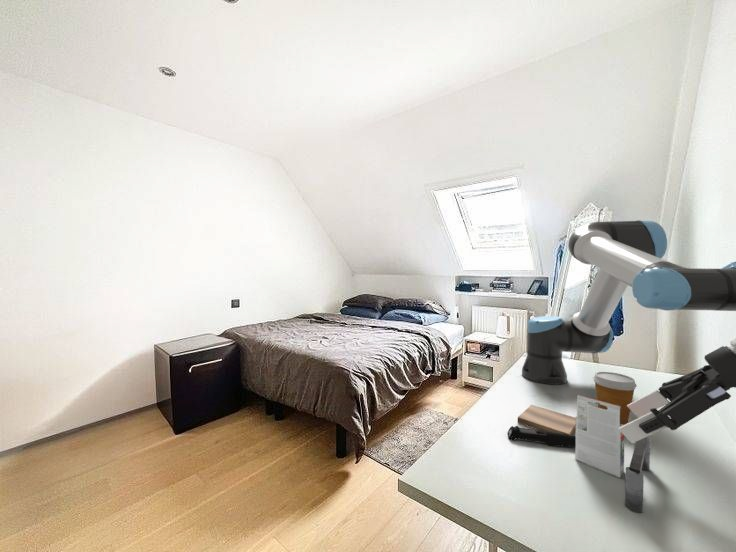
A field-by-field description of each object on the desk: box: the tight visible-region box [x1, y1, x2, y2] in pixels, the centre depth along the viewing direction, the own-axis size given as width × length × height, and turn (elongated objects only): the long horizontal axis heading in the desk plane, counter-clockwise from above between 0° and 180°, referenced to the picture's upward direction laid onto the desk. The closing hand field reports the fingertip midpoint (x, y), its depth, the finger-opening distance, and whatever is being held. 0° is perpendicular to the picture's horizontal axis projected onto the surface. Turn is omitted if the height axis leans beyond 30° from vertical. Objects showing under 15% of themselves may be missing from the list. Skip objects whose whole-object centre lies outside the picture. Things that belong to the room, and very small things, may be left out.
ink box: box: [574, 394, 626, 479], centre depth 66 cm, size 4×8×15 cm, turn 39°
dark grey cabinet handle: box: [624, 436, 651, 514], centre depth 60 cm, size 18×2×7 cm, turn 135°
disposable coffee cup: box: [592, 371, 637, 425], centre depth 86 cm, size 10×10×12 cm
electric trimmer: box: [507, 425, 576, 448], centre depth 75 cm, size 4×16×3 cm, turn 72°
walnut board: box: [517, 404, 576, 436], centre depth 84 cm, size 11×12×2 cm
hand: (629, 422), depth 61 cm, fingers open, 13 cm apart
